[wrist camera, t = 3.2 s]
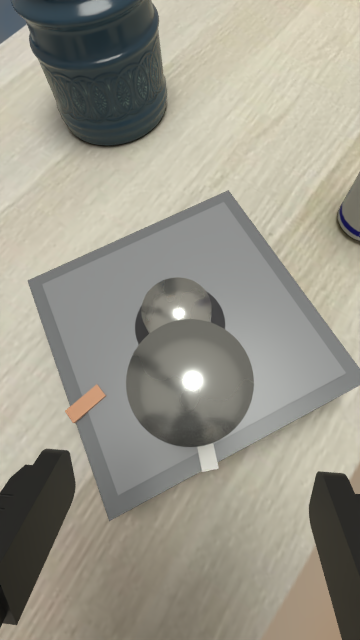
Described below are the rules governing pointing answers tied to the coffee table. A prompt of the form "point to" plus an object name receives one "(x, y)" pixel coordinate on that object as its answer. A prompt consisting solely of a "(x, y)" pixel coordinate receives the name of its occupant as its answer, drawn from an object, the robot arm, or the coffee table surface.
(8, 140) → the coffee table surface
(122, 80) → the canister
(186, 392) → the lever
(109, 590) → the coffee table surface
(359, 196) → the beverage can
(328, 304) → the coffee table surface
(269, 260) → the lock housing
